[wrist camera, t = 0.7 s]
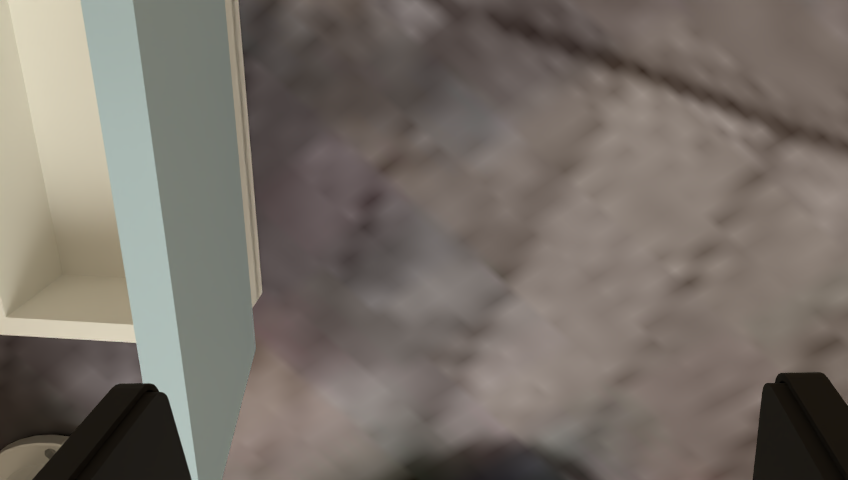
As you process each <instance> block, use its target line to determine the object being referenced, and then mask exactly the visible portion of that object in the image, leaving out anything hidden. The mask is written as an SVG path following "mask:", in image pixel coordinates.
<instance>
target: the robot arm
mask: <svg viewBox="0 0 848 480" xmlns="http://www.w3.org/2000/svg"><path fill="white" fill-rule="evenodd" d="M0 480H192V479H191V475H190V472H189V468H188V465H187V461H186V458H185V454H184V451H183V448H182V444H181V441H180V437H179V434H178V430H177V427H176V423H175V420H174V416H173V413H172V409H171V406H170V402H169V399H168V397H167V395H166V394H165V393H163V392H159V390H158V388H157V387H156V386H155V385H154V384H151V383H137V384H118V385H115V386H114V387H113V388H112V389H111V390H110V391H109V392H108V393H107V394H106V396H105V397H104V398H103V399H102V400H101V401H100V402H99V404H98V405H97V406H96V407H95V408H94V409H93V410H92V412H91V413H90V414H89V415H88V416H87V417H86V419H85V420H84V421H83V422H82V423H81V424H80V425H79V427H78V428H77V429H76V430H75V431H74V432H73V433H72V435H71V436H70V437H69V436H60V435H37V436H32V437H28V438H23V439H20V440H17V441H15V442H13V443H11V444H9V445H7V446H6V447H4V448H3V449H2V450H1V451H0ZM753 480H848V406H847V404H846V403H845V402H844V400H843V399H842V397H841V396H840V395H839V393H838V392H837V390H836V389H835V388H834V386H833V385H832V383H831V382H830V380H829V379H828V378H827V377H826V376H825V375H824V374H823V373H820V372H814V373H780V374H778V376H777V378H776V381H775V383H766V384H765V385H764V387H763V392H762V400H761V409H760V418H759V428H758V437H757V446H756V455H755V464H754V474H753Z"/></svg>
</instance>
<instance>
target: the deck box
mask: <svg viewBox="0 0 848 480" xmlns="http://www.w3.org/2000/svg"><path fill="white" fill-rule="evenodd" d="M225 9H226V21H227V32H228V43H229V54H230V65H231V77H232V88H233V99H234V110H235V121H236V132H237V144H238V155H239V166H240V177H241V188H242V200H243V211H244V222H245V233H246V244H247V256H248V267H249V278H250V289H251V300H252V308H253V306H254V305H255V303H256V302H257V300H258V299H259V297H260V296H261V294H262V281H261V269H260V257H259V245H258V232H257V220H256V208H255V196H254V184H253V172H252V159H251V147H250V135H249V123H248V111H247V99H246V87H245V74H244V62H243V50H242V38H241V26H240V14H239V2H238V0H225ZM0 335H16V336H33V337H50V338H66V339H83V340H100V341H117V342H133V343H136V338H135V332H134V325H133V319H132V313H131V307H130V301H129V295H128V289H127V283H126V276H125V270H124V264H123V258H122V252H121V246H120V240H119V234H118V227H117V221H116V215H115V209H114V203H113V197H112V191H111V185H110V178H109V172H108V166H107V160H106V154H105V148H104V142H103V136H102V129H101V123H100V117H99V111H98V105H97V99H96V93H95V86H94V80H93V74H92V68H91V62H90V56H89V50H88V44H87V37H86V31H85V25H84V19H83V13H82V7H81V1H80V0H0Z"/></svg>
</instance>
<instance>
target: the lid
mask: <svg viewBox="0 0 848 480" xmlns="http://www.w3.org/2000/svg"><path fill="white" fill-rule="evenodd" d="M80 1H81V7H82V13H83V19H84V25H85V31H86V37H87V44H88V50H89V56H90V62H91V68H92V74H93V80H94V86H95V93H96V99H97V105H98V111H99V117H100V123H101V129H102V136H103V142H104V148H105V154H106V160H107V166H108V172H109V178H110V185H111V191H112V197H113V203H114V209H115V215H116V221H117V227H118V234H119V240H120V246H121V252H122V258H123V264H124V270H125V276H126V283H127V289H128V295H129V301H130V307H131V313H132V319H133V325H134V332H135V338H136V344H137V350H138V356H139V362H140V368H141V375H142V381H143V383H151V384H154V385H155V386H156V387H157V388H158V390H159V392H163V393H165V394H166V395H167V397H168V399H169V402H170V406H171V409H172V413H173V416H174V420H175V423H176V427H177V430H178V434H179V437H180V441H181V444H182V448H183V451H184V454H185V458H186V461H187V465H188V468H189V472H190V475H191V479H192V480H222V477H223V473H224V469H225V466H226V462H227V458H228V454H229V450H230V446H231V442H232V439H233V435H234V431H235V427H236V423H237V419H238V415H239V412H240V408H241V404H242V400H243V396H244V392H245V388H246V385H247V381H248V377H249V373H250V369H251V365H252V361H253V358H254V354H255V350H256V345H255V334H254V323H253V312H252V300H251V289H250V278H249V267H248V256H247V244H246V233H245V222H244V211H243V200H242V188H241V177H240V166H239V155H238V144H237V132H236V121H235V110H234V99H233V88H232V77H231V65H230V54H229V43H228V32H227V21H226V9H225V0H80Z"/></svg>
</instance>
